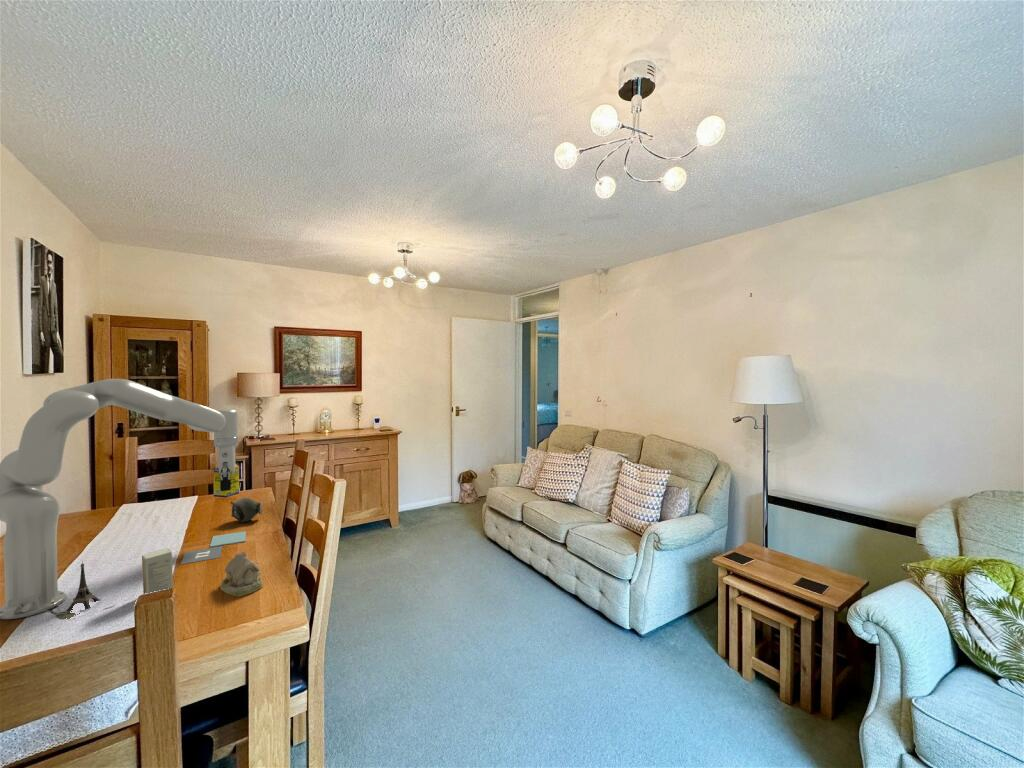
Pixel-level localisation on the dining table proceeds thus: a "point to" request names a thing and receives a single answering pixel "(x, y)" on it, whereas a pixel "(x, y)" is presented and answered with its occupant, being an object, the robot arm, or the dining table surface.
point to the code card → (202, 555)
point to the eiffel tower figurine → (77, 598)
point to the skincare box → (157, 571)
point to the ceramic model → (241, 576)
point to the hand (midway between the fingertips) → (226, 487)
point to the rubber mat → (228, 539)
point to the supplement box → (234, 483)
